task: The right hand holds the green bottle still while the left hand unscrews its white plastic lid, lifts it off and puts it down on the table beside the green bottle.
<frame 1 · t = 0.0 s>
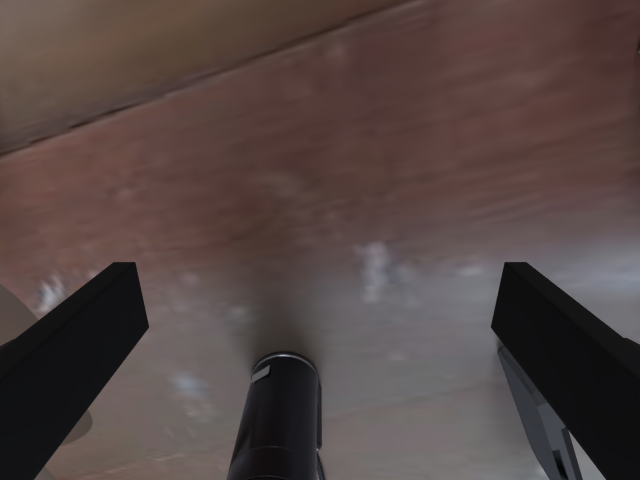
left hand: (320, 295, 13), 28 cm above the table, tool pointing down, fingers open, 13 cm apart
handheld gaming console: (523, 397, 51), on the table
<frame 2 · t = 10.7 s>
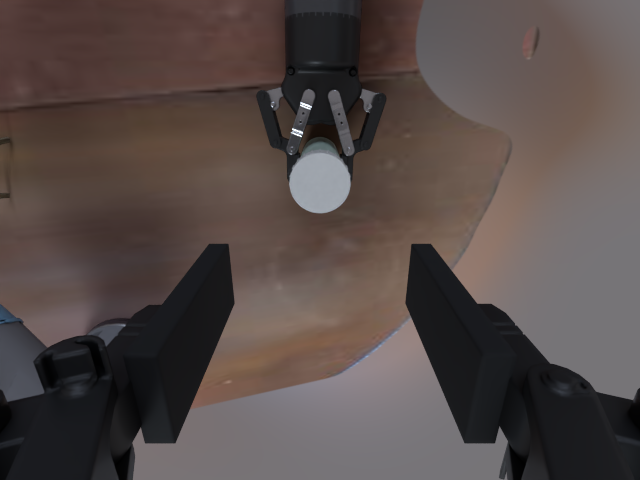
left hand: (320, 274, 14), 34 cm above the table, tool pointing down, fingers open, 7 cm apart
right hand: (319, 186, 41), fingers closed on green bottle, 4 cm apart
lid: (320, 183, 30), point 17 cm above the table, screwed on, not yet turned
green bottle: (320, 155, 46), on the table, touching right hand
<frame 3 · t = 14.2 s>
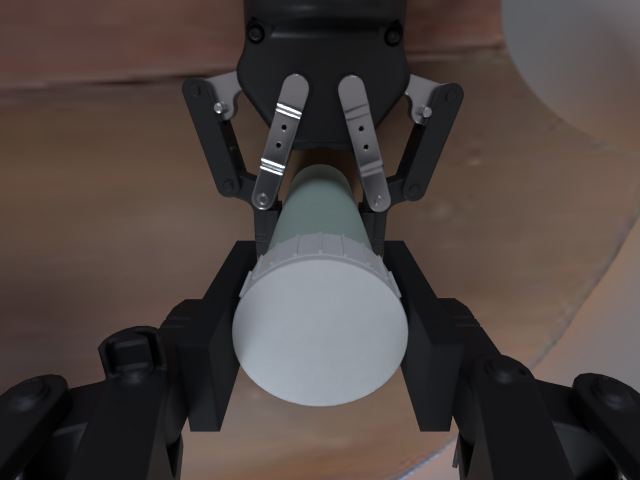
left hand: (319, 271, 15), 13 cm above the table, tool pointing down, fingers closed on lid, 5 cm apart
right hand: (319, 263, 21), fingers closed on green bottle, 4 cm apart
lid: (320, 332, 11), point 17 cm above the table, screwed on, not yet turned, touching left hand
green bottle: (320, 195, 26), on the table, touching right hand
when the left hand's fingers open (13 cm above the table, at t = 15.6 s): lid stays where it is, point 17 cm above the table.
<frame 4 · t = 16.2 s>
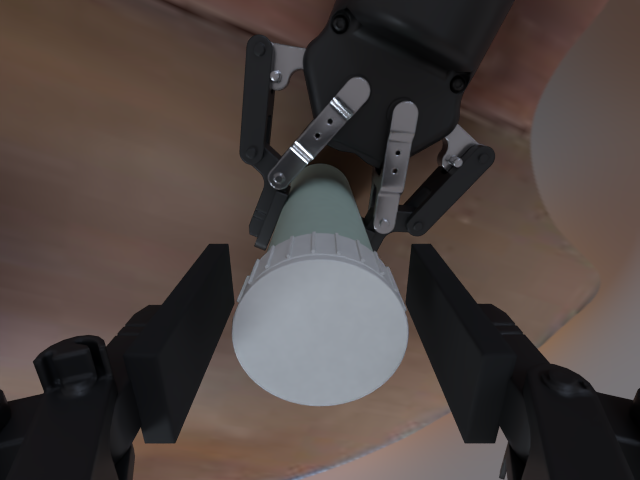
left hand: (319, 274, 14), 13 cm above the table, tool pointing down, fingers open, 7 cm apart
right hand: (303, 259, 21), fingers closed on green bottle, 4 cm apart
lid: (320, 332, 11), point 17 cm above the table, turned 74° so far, risen 0.2 cm, still on its thread
green bottle: (320, 194, 27), on the table, touching right hand
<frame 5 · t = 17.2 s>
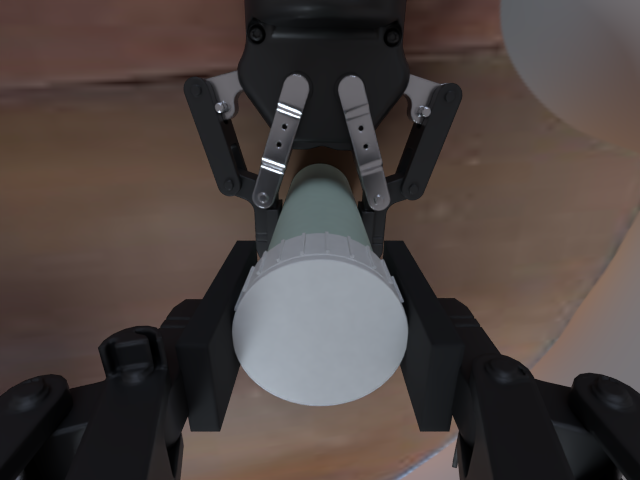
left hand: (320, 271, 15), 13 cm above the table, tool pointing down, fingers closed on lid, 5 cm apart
right hand: (319, 262, 22), fingers closed on green bottle, 4 cm apart
lid: (320, 332, 11), point 17 cm above the table, turned 74° so far, risen 0.2 cm, still on its thread, touching left hand
green bottle: (320, 194, 27), on the table, touching right hand
when the left hand's fingers open (0 cm above the table, at t = 25.6 s): lid drops 2 cm, point 2 cm above the table.
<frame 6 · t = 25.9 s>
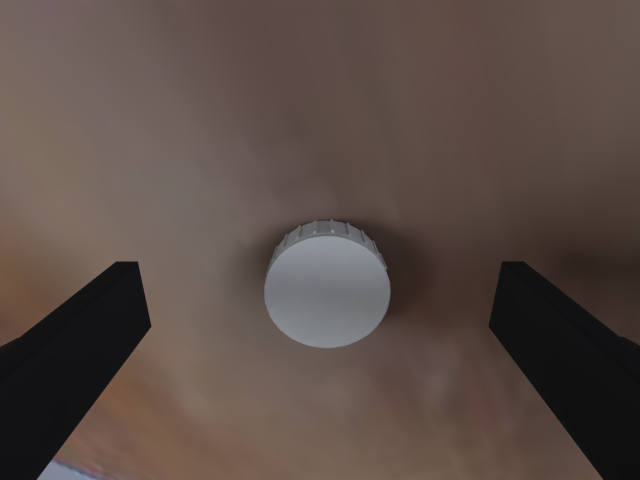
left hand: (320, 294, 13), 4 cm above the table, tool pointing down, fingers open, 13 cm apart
lid: (327, 291, 15), point 2 cm above the table, off its thread
when the right hand's fingers open (6 cm above the table, at t = 26.2 s): green bottle stays where it is, on the table.
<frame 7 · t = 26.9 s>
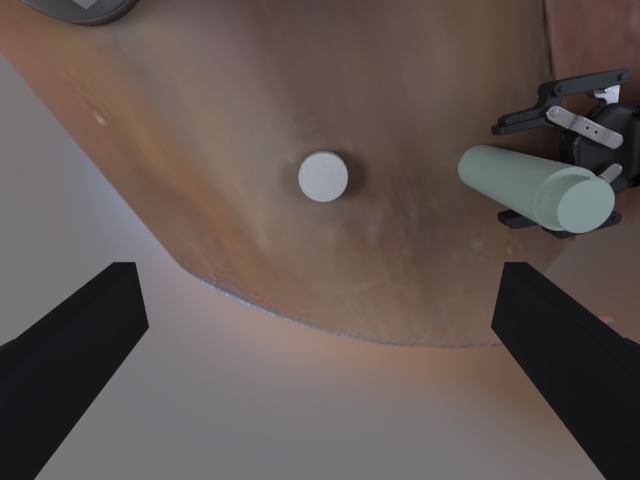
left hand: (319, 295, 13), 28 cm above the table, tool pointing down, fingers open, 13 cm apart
lid: (323, 177, 37), point 2 cm above the table, off its thread
green bottle: (479, 166, 39), on the table
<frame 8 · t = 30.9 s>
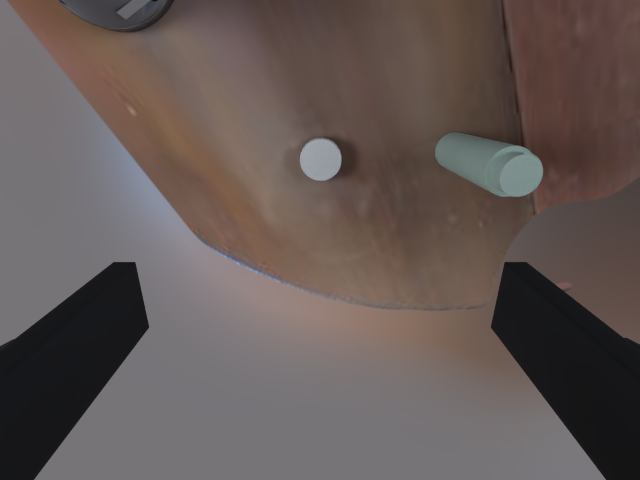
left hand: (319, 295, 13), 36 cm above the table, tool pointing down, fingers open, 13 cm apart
lid: (320, 159, 44), point 2 cm above the table, off its thread
green bottle: (452, 150, 46), on the table
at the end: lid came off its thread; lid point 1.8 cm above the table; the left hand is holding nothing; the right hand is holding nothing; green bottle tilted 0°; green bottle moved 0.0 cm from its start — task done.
